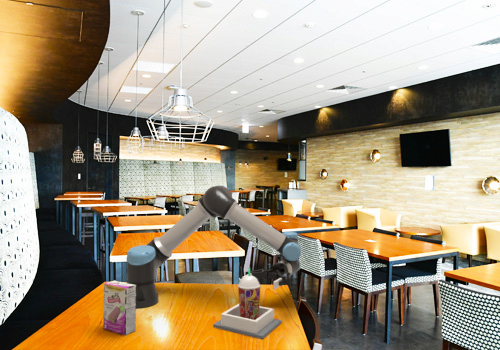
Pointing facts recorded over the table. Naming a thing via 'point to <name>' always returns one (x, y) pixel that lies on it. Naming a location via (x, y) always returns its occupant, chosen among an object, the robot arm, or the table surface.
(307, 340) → the table surface
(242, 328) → the board
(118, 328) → the candy bar box
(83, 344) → the table surface
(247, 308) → the smoothie
